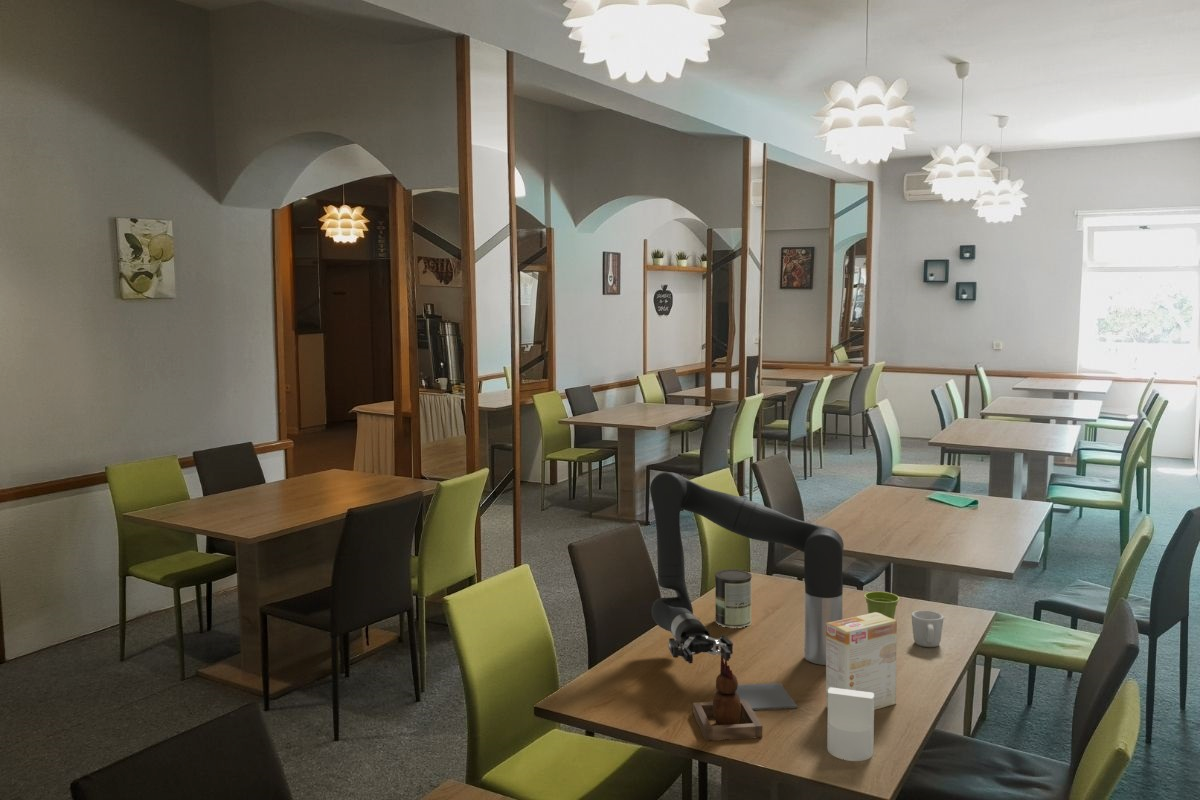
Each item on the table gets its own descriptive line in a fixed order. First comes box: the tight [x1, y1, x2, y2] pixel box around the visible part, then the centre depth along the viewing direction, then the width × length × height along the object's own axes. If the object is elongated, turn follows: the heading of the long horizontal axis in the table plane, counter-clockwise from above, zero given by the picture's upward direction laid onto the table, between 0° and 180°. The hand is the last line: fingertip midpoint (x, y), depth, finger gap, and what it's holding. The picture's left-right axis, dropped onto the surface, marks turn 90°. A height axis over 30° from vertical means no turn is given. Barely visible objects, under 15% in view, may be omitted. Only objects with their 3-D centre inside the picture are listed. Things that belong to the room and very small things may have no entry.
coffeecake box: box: [825, 612, 898, 711], centre depth 205 cm, size 15×7×20 cm, turn 117°
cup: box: [911, 609, 945, 648], centre depth 241 cm, size 11×8×8 cm
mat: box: [736, 682, 798, 711], centre depth 211 cm, size 13×13×1 cm
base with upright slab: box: [826, 687, 875, 762], centre depth 184 cm, size 9×9×12 cm
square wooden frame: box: [692, 700, 763, 741], centre depth 197 cm, size 12×13×2 cm
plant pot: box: [863, 591, 900, 620], centre depth 256 cm, size 9×9×9 cm
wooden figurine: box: [712, 655, 742, 725], centre depth 196 cm, size 7×6×15 cm
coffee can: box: [714, 569, 753, 629], centre depth 261 cm, size 10×10×14 cm
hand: (709, 658), depth 207 cm, fingers open, 8 cm apart
